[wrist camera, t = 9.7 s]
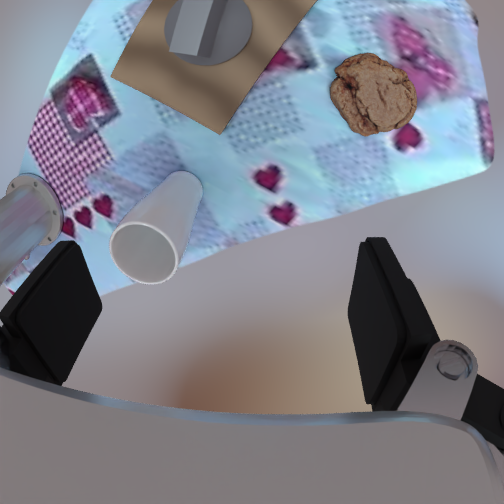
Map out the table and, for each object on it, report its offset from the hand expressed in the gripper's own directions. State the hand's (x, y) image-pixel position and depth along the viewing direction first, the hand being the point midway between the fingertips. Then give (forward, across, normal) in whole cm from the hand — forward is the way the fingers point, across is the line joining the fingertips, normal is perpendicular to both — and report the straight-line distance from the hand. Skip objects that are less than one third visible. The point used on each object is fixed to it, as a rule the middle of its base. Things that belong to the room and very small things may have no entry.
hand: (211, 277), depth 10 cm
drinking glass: (+28, +9, +8) cm, 31 cm away
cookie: (+29, -14, -4) cm, 32 cm away
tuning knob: (+26, +4, -12) cm, 29 cm away
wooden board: (+28, +4, -12) cm, 31 cm away
